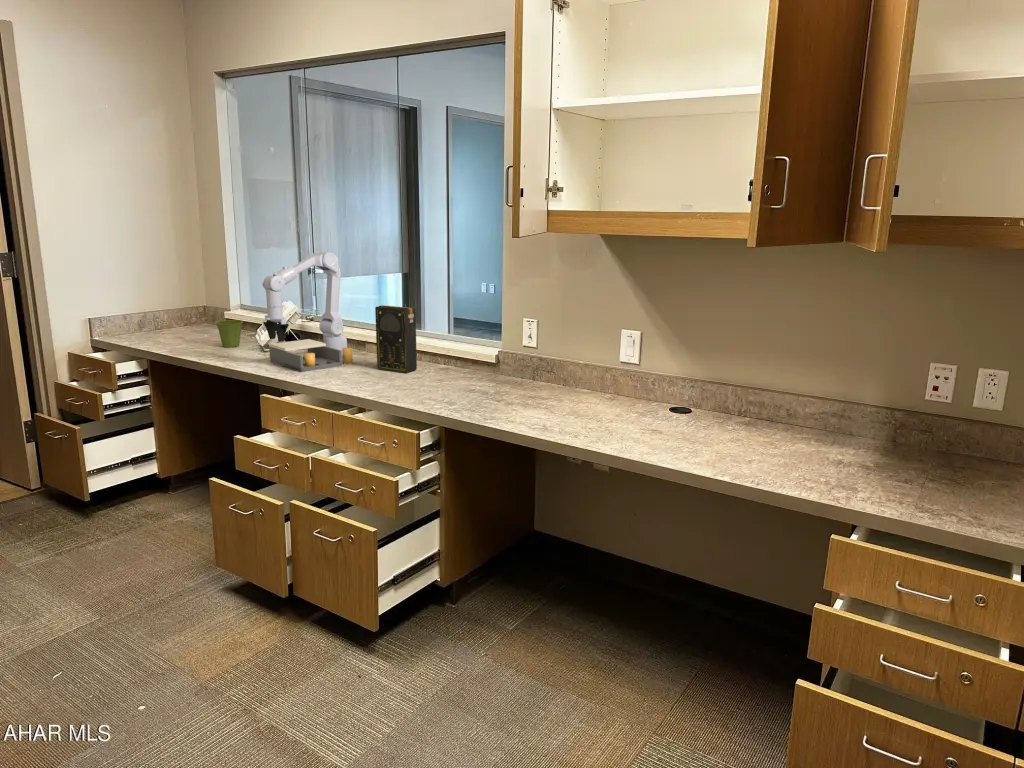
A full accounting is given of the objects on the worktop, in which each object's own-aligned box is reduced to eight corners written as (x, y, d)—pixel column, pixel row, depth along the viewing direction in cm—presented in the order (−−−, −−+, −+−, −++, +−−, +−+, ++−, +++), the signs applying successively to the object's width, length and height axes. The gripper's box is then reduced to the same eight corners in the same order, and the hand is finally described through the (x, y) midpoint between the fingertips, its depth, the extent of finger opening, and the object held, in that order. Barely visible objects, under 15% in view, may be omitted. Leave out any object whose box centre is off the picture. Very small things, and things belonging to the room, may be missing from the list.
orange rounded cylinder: (312, 367, 289) (311, 352, 288) (317, 368, 287) (316, 353, 285) (303, 368, 287) (302, 353, 285) (308, 370, 284) (307, 355, 283)
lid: (309, 343, 309) (309, 339, 309) (326, 348, 300) (326, 343, 299) (269, 348, 297) (269, 343, 297) (285, 353, 287) (285, 348, 287)
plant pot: (219, 349, 324) (217, 324, 322) (215, 345, 334) (213, 321, 332) (247, 347, 330) (245, 322, 327) (242, 343, 340) (240, 319, 337)
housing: (310, 356, 311) (309, 341, 309) (342, 365, 292) (341, 350, 291) (270, 361, 299) (269, 346, 297) (301, 372, 280) (300, 356, 279)
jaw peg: (349, 361, 301) (348, 347, 300) (354, 362, 299) (354, 348, 297) (340, 362, 299) (340, 348, 297) (346, 364, 296) (345, 349, 295)
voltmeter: (374, 369, 286) (372, 306, 280) (388, 365, 293) (386, 304, 288) (406, 374, 278) (404, 309, 273) (419, 370, 286) (418, 306, 280)
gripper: (256, 305, 291) (259, 338, 294) (273, 308, 281) (275, 343, 284) (273, 303, 296) (275, 336, 299) (290, 307, 286) (292, 341, 289)
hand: (276, 340), depth 292 cm, fingers open, 7 cm apart
